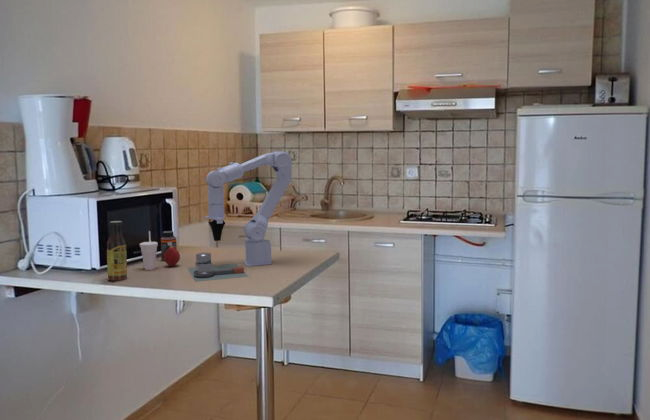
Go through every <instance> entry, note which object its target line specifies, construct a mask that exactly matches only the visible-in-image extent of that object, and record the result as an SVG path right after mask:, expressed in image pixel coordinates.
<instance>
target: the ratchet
mask: <svg viewBox="0 0 650 420" xmlns="http://www.w3.org/2000/svg"><path fill="white" fill-rule="evenodd" d="M212 270H213V269H212ZM244 272H245V268H244V267H243V266H242V265H241V266H239V267H232V269H222V270H213V272H207V273H198V272H197V271H194V277H195V278H210V277H213V276H215V275H226V274H239V273H244Z"/></svg>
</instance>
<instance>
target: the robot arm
mask: <svg viewBox="0 0 650 420" xmlns="http://www.w3.org/2000/svg"><path fill="white" fill-rule="evenodd" d="M262 166H271V167H272V169H273V170H274V173H275V175H276V179H275V180H274V183H273V184H272V186H271V188H270V190H269V191H268V193H267V195H266V197H265V198H264V199H263V201H262V203H261V206H260V207H259V209H258V211H257V212H256V213H255V214H254V216H252V218H251V219H250V221H248V222H246V224H245V225H244V227H243V232H244V234H245V236H246V237H245V240H244V242H245V243H244V245H245V246H244V247H245V260H243V261H242V262H243V263H244V265H245V266H246V267H250V266H251V267H252V266H262V265H263V266H265V265H272V243H271V241H270V240H269V239H265V235H266V230H267V228H268V225H269V220H270V218H271V216H272V215H273V213H274V212H275V209H276V208H277V205H278V204H279V202H280V200H281V199H282V197H283V196H284V193H285V192H286V190H287V189H288V186H289V185H290V183H291V182H292V176H293V175H292V171H293V170H292V168H293V167H292V166H293V160H292V157H291V156H290V154H289V153H288V152H286V151H279V150H274V151H272V152H267V153H264V154H261V155H258V156H256V157H254V158H252V159H249V160H248V161H245V162H243V163H238V162H233V161H232V162H229V163H228V165H226V166H223V167H218V168H216V169H217V170H211V171H209V172H208V174H207V175H206V178H205V180H206V183H207V205H208V206H207V207H208V212H207V213H208V215H205V219H209V220H212V221H208V225H209V226H210V229H211V233H212V237H213V241H214V242H218V241H219V242H221V239H222V235H223V229H224V227H225V225H226V222H225V220H224V219H225V218H226V215H225V195H224V194H225V192H224V184H225V183H226V184H227V183H230V182H233V181H235V180H237V179H239V178H242V177H243V175H244V173H245V172H247V171H250V170H253V169H256V168H259V167H262Z"/></svg>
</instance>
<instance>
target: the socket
mask: <svg viewBox="0 0 650 420" xmlns="http://www.w3.org/2000/svg"><path fill="white" fill-rule="evenodd" d="M194 263H195V266H194V267H196V271H197V272H198V273H207V272H213V270H212V266H213V263H212V254H211V253H210V252H199V253H198V252H197V253H196V254H195V262H194Z"/></svg>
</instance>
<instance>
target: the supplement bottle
mask: <svg viewBox="0 0 650 420" xmlns="http://www.w3.org/2000/svg"><path fill="white" fill-rule="evenodd" d="M162 235H163V236H161V238H160V254H161V256H160V257H161V261H163V262H165V261H164V254H165V252H166V251H167V250H168V249H169V248H170V246H174V247H173V248H175V249H176V250H177V251H178V249H177V246H178V245H177V237H176V236H175V235H174V231H172V230H166V231H162Z"/></svg>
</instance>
